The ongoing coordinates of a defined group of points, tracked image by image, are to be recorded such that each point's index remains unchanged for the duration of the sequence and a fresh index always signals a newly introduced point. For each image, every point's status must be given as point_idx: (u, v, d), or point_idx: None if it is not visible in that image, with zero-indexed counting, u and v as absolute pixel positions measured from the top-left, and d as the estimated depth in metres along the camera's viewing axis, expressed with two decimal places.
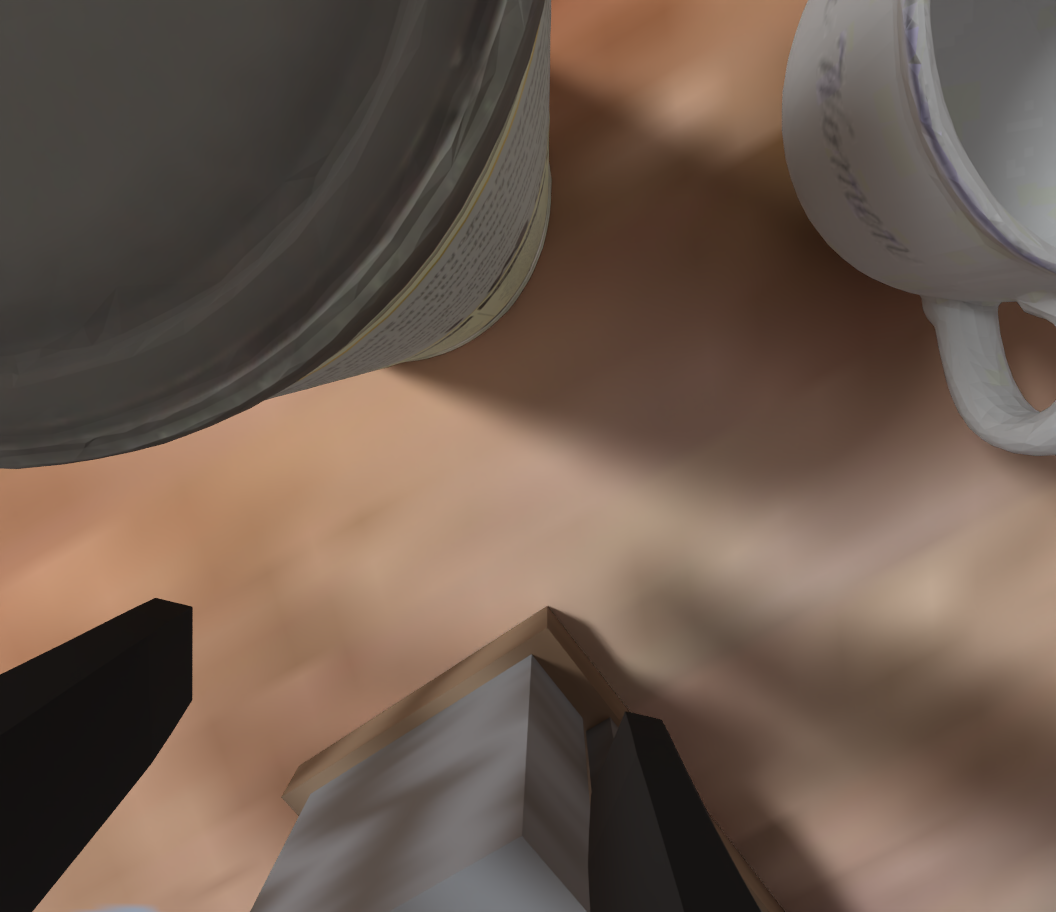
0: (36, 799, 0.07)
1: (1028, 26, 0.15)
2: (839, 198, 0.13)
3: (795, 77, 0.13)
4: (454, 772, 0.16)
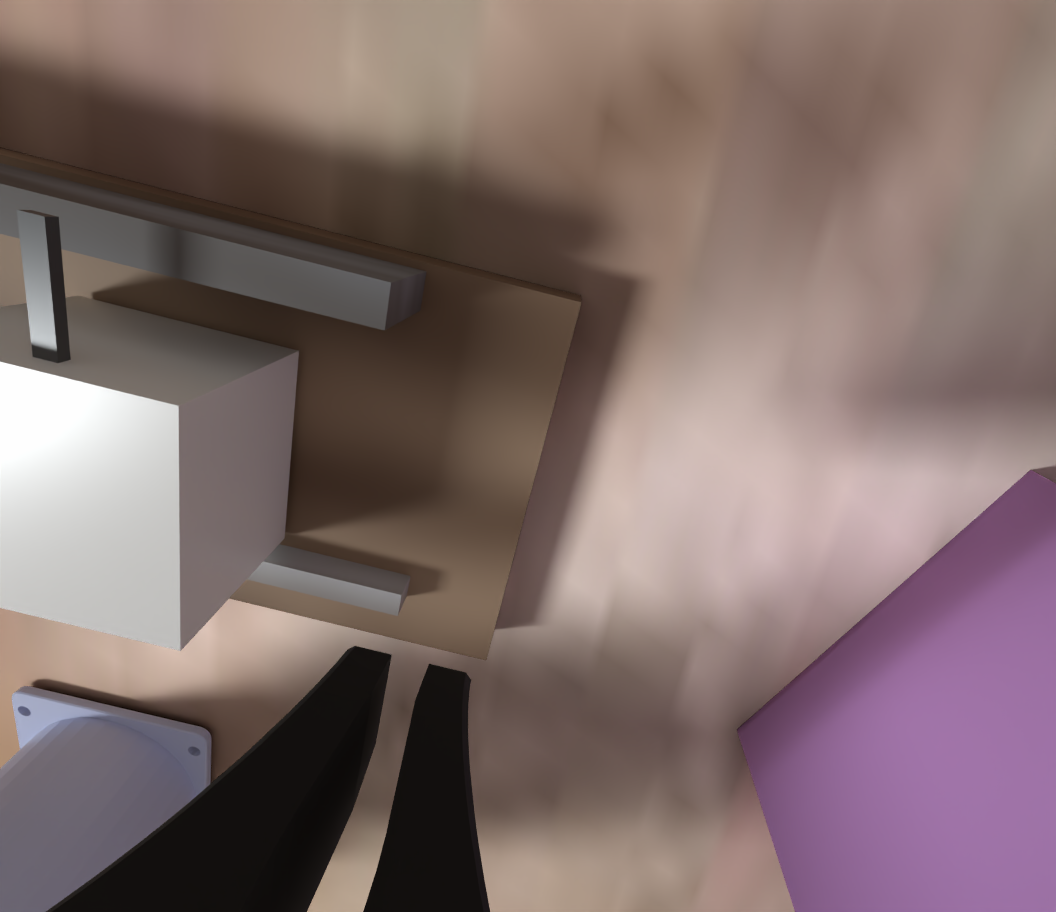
0: (301, 861, 0.07)
1: None
2: None
3: None
4: None
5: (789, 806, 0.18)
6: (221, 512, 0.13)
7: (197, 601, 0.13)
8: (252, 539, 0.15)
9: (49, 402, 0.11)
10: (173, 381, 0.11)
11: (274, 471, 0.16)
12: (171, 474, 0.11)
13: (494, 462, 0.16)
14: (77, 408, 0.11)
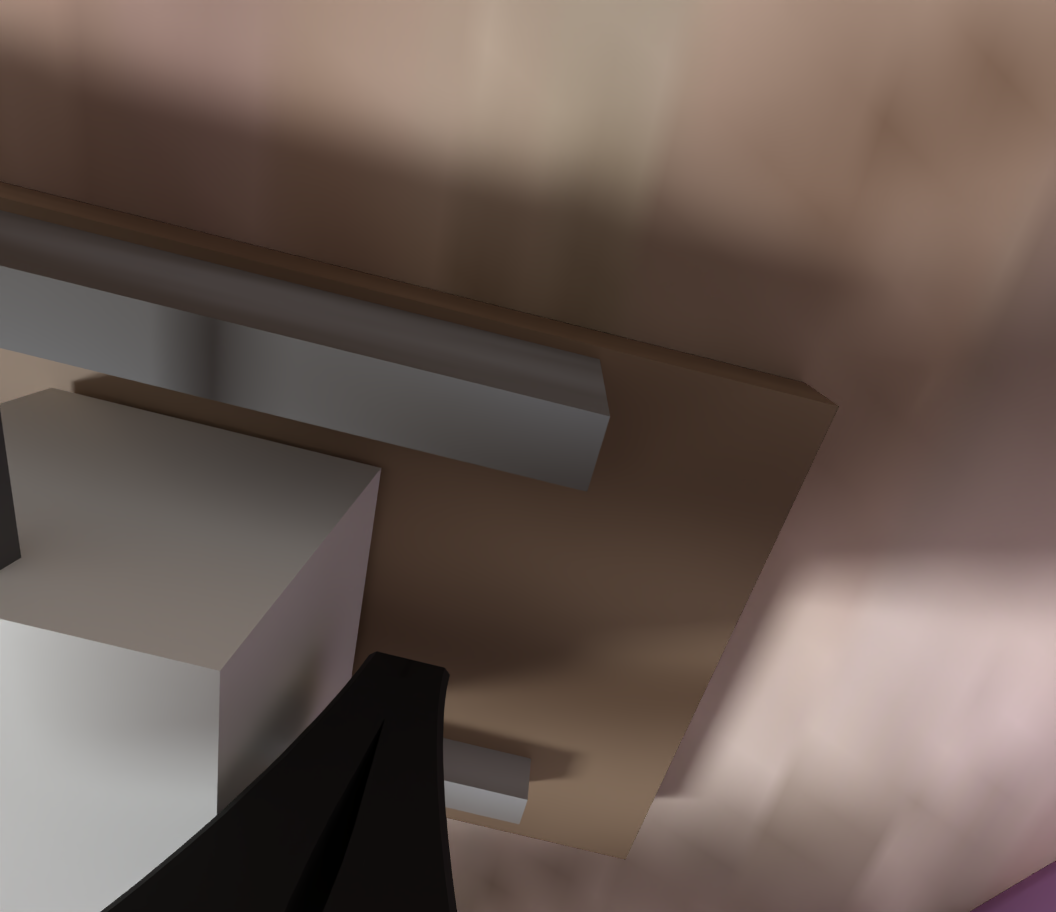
0: (330, 867, 0.07)
1: None
2: None
3: None
4: None
5: None
6: (277, 757, 0.08)
7: None
8: None
9: None
10: (204, 589, 0.06)
11: (342, 642, 0.10)
12: (204, 770, 0.06)
13: (670, 621, 0.11)
14: (28, 665, 0.06)
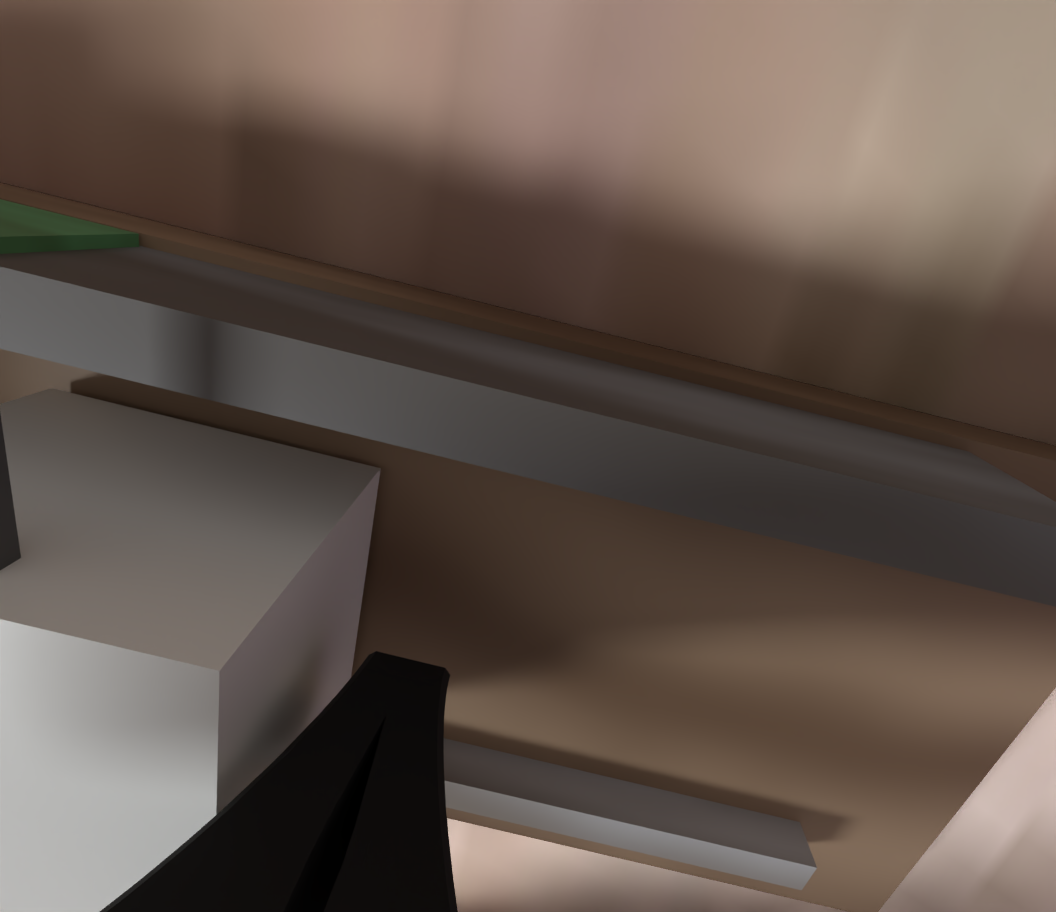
0: (330, 868, 0.07)
1: None
2: None
3: None
4: None
5: None
6: None
7: None
8: None
9: None
10: (203, 589, 0.06)
11: (342, 642, 0.11)
12: (202, 771, 0.06)
13: (978, 696, 0.11)
14: (28, 666, 0.06)
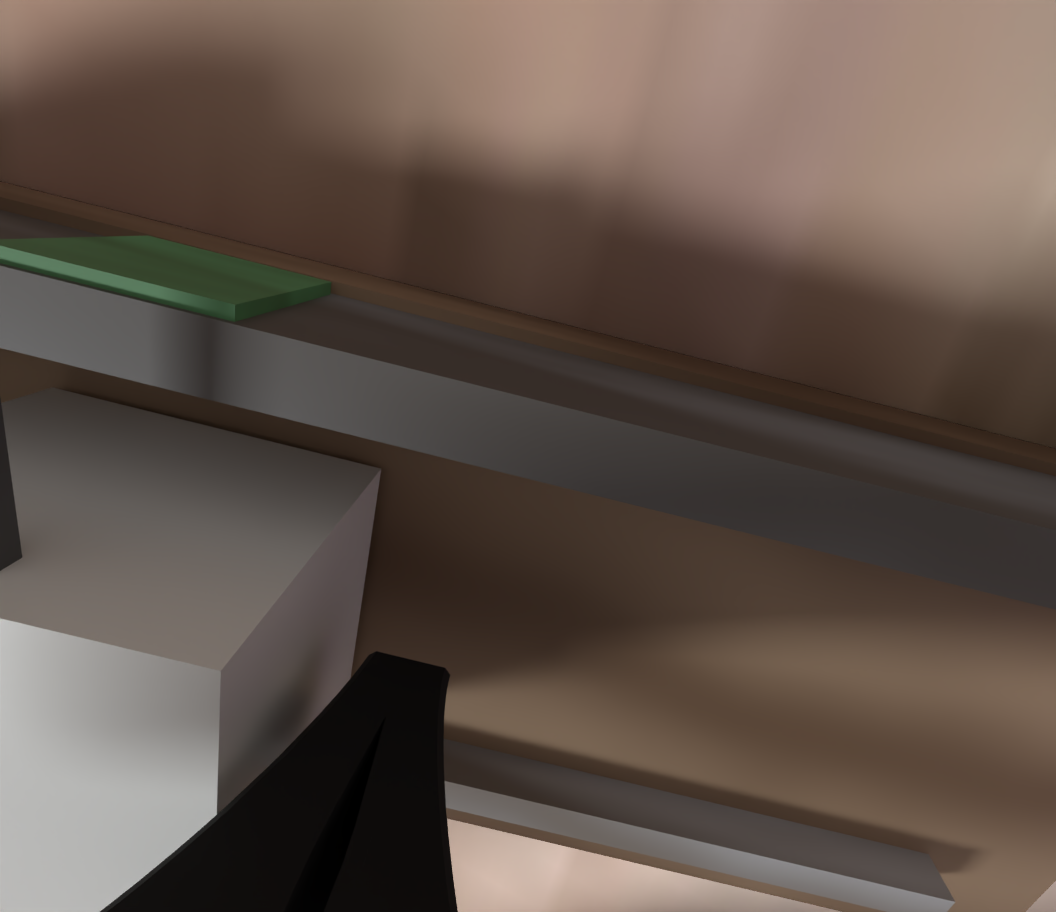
0: (330, 868, 0.07)
1: None
2: None
3: None
4: None
5: None
6: None
7: None
8: None
9: None
10: (205, 590, 0.07)
11: (342, 642, 0.11)
12: (204, 770, 0.06)
13: None
14: (30, 666, 0.06)
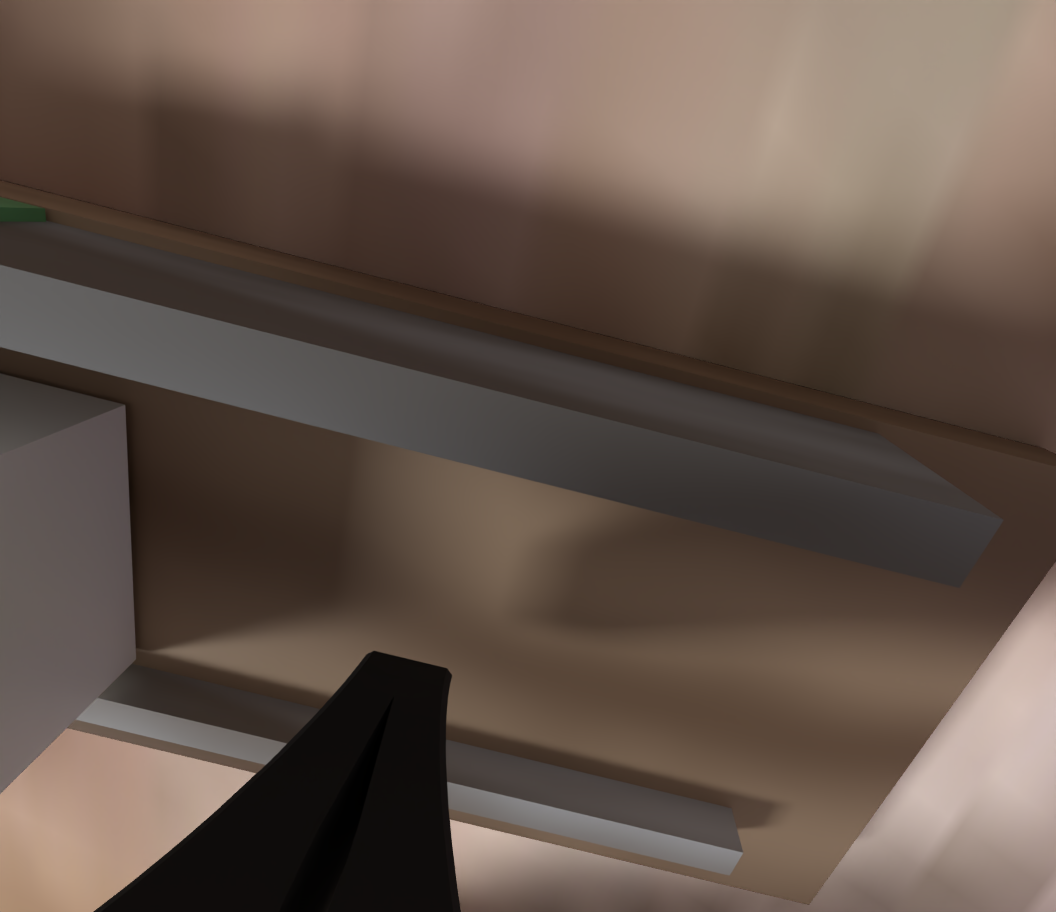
0: (326, 867, 0.07)
1: None
2: None
3: None
4: None
5: None
6: None
7: None
8: (54, 687, 0.10)
9: None
10: None
11: (93, 582, 0.10)
12: None
13: (900, 680, 0.11)
14: None
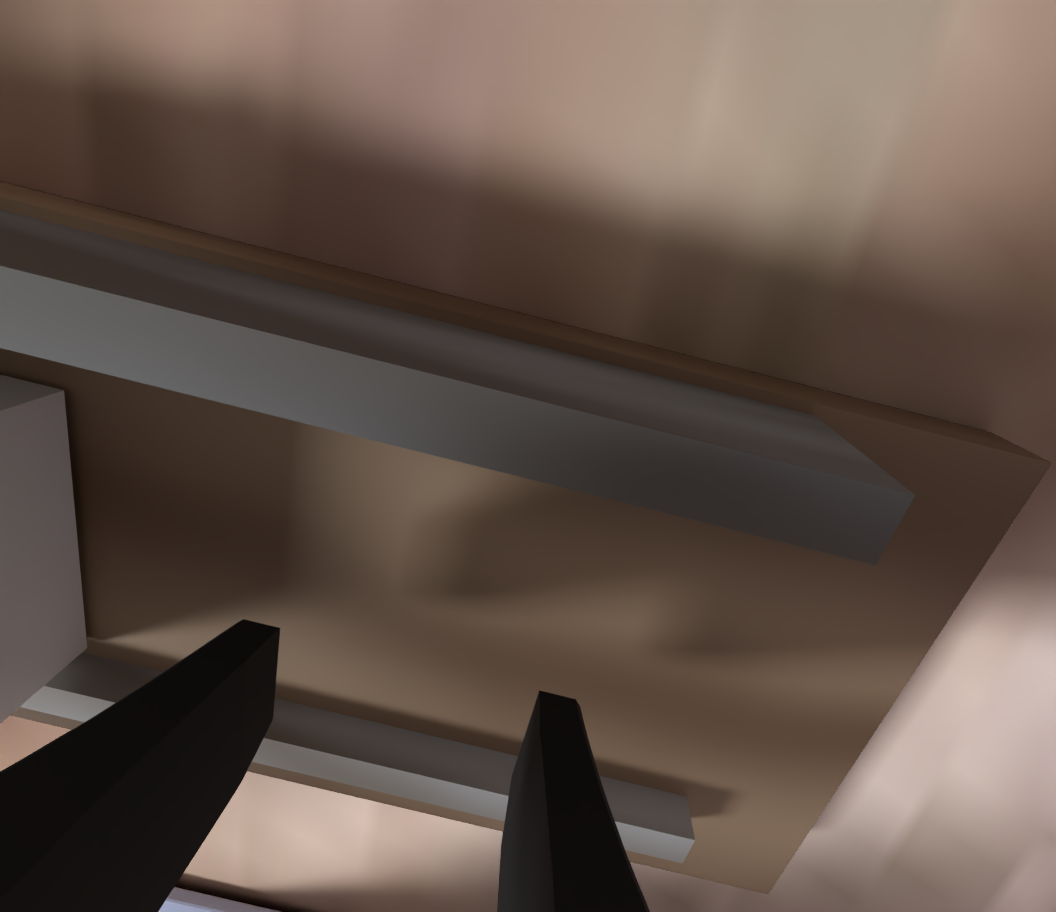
0: (153, 826, 0.07)
1: None
2: None
3: None
4: None
5: None
6: None
7: None
8: None
9: None
10: None
11: (35, 568, 0.10)
12: None
13: (849, 666, 0.11)
14: None
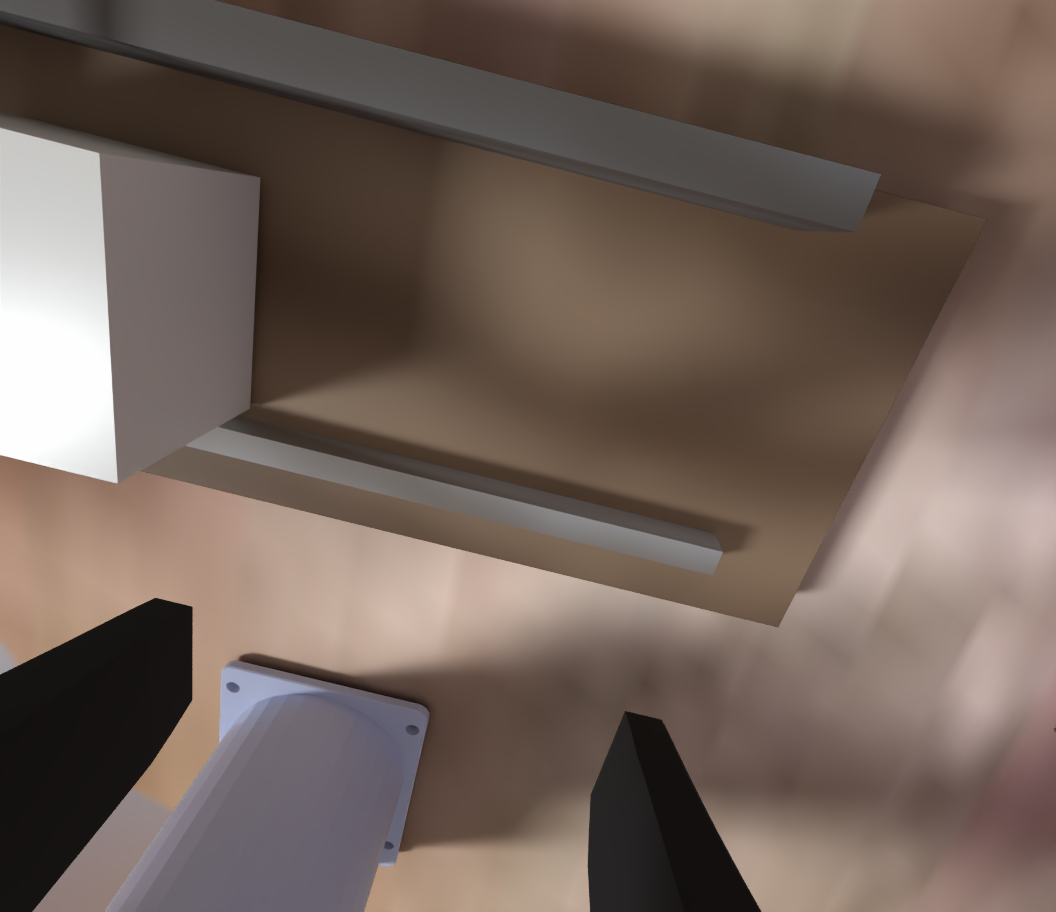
0: (36, 799, 0.07)
1: None
2: None
3: None
4: None
5: None
6: (166, 330, 0.12)
7: (138, 430, 0.12)
8: (208, 387, 0.14)
9: None
10: (100, 148, 0.10)
11: (234, 315, 0.14)
12: (95, 247, 0.10)
13: (841, 404, 0.15)
14: None
